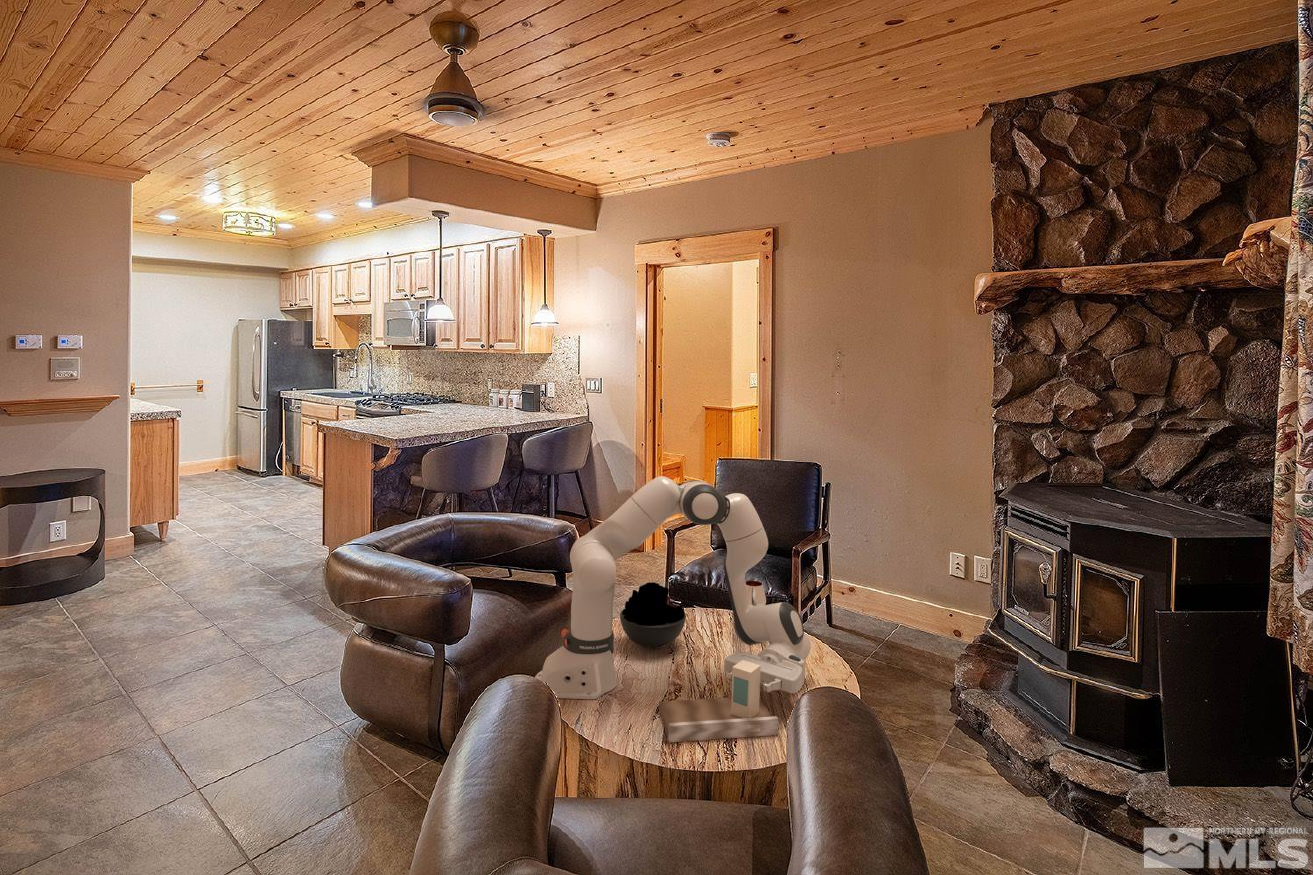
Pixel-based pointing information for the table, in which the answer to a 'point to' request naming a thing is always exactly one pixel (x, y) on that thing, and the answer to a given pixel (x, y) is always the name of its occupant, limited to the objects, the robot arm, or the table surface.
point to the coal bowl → (652, 617)
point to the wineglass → (756, 593)
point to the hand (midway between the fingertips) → (748, 682)
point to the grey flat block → (713, 720)
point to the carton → (745, 689)
